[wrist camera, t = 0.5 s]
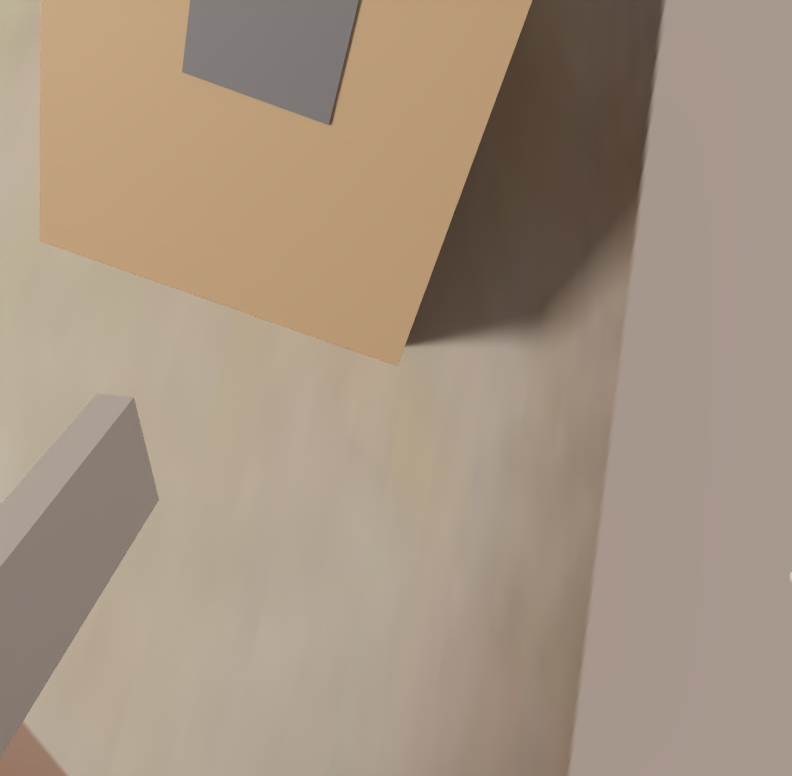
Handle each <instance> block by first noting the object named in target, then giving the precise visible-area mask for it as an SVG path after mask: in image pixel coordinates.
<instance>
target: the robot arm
mask: <svg viewBox="0 0 792 776" xmlns="http://www.w3.org/2000/svg"><path fill="white" fill-rule="evenodd" d="M158 500H159V498H158V494H157V490H156V486H155V482H154V478H153V474H152V470H151V466H150V461H149V457H148V453H147V449H146V445H145V441H144V437H143V433H142V429H141V425H140V421H139V417H138V413H137V409H136V405H135V401H134V398H133V397H124V396H114V395H104V394H97V395H96V396H95V397H94V398H93V399H92V400H91V402H90V403H89V404H88V405H87V406H86V407H85V409H84V410H83V411H82V412H81V413H80V414H79V415H78V417H77V418H76V419H75V420H74V421H73V422H72V424H71V425H70V426H69V427H68V428H67V429H66V430H65V432H64V433H63V434H62V435H61V436H60V437H59V439H58V440H57V441H56V442H55V443H54V444H53V446H52V447H51V448H50V449H49V450H48V451H47V452H46V454H45V455H44V456H43V457H42V458H41V459H40V461H39V462H38V463H37V464H36V465H35V466H34V467H33V469H32V470H31V471H30V472H29V473H28V474H27V476H26V477H25V478H24V479H23V480H22V481H21V482H20V484H19V485H18V486H17V487H16V488H15V489H14V491H13V492H12V493H11V494H10V495H9V496H8V497H7V499H6V500H5V501H4V502H3V503H2V504H1V506H0V758H1V756H2V754H3V753H4V751H5V750H6V748H7V746H8V745H9V743H10V741H11V739H12V738H13V736H14V735H15V733H16V732H17V730H18V728H19V727H20V725H21V723H22V722H23V720H24V719H25V717H26V715H27V714H28V712H29V710H30V709H31V707H32V705H33V704H34V702H35V701H36V699H37V697H38V696H39V694H40V692H41V691H42V689H43V688H44V686H45V684H46V683H47V681H48V679H49V678H50V676H51V675H52V673H53V671H54V670H55V668H56V666H57V665H58V663H59V662H60V660H61V658H62V657H63V655H64V653H65V652H66V650H67V648H68V647H69V645H70V644H71V642H72V640H73V639H74V637H75V635H76V634H77V632H78V631H79V629H80V627H81V626H82V624H83V622H84V621H85V619H86V617H87V616H88V614H89V613H90V611H91V609H92V608H93V606H94V604H95V603H96V601H97V600H98V598H99V596H100V595H101V593H102V591H103V590H104V588H105V587H106V585H107V583H108V582H109V580H110V578H111V577H112V575H113V574H114V572H115V570H116V569H117V567H118V565H119V564H120V562H121V560H122V559H123V557H124V556H125V554H126V552H127V551H128V549H129V547H130V546H131V544H132V543H133V541H134V539H135V538H136V536H137V534H138V533H139V531H140V530H141V528H142V526H143V525H144V523H145V521H146V520H147V518H148V516H149V515H150V513H151V512H152V510H153V508H154V507H155V505H156V503H157V502H158ZM789 577H790V579H791V582H792V571H791V573H790V576H789Z"/></svg>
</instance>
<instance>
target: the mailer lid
mask: <svg viewBox="0 0 792 776" xmlns="http://www.w3.org/2000/svg"><path fill="white" fill-rule="evenodd" d="M531 3H532V0H41V54H40V241H41V242H44V243H47V244H50V245H53V246H56V247H58V248H61V249H64V250H67V251H70V252H73V253H76V254H78V255H81V256H84V257H87V258H90V259H93V260H96V261H98V262H101V263H104V264H107V265H110V266H113V267H116V268H118V269H121V270H124V271H127V272H130V273H133V274H136V275H138V276H141V277H144V278H147V279H150V280H153V281H156V282H158V283H161V284H164V285H167V286H170V287H173V288H176V289H178V290H181V291H184V292H187V293H190V294H193V295H195V296H198V297H201V298H204V299H207V300H210V301H213V302H215V303H218V304H221V305H224V306H227V307H230V308H233V309H235V310H238V311H241V312H244V313H247V314H250V315H253V316H255V317H258V318H261V319H264V320H267V321H270V322H273V323H275V324H278V325H281V326H284V327H287V328H290V329H293V330H295V331H298V332H301V333H304V334H307V335H310V336H313V337H315V338H318V339H321V340H324V341H327V342H330V343H332V344H335V345H338V346H341V347H344V348H347V349H350V350H352V351H355V352H358V353H361V354H364V355H367V356H370V357H372V358H375V359H378V360H381V361H384V362H387V363H390V364H392V365H395V366H398V363H399V361H400V358H401V355H402V352H403V350H404V347H405V344H406V342H407V339H408V336H409V333H410V331H411V328H412V325H413V323H414V320H415V317H416V315H417V312H418V309H419V306H420V304H421V301H422V298H423V296H424V293H425V290H426V287H427V285H428V282H429V279H430V277H431V274H432V271H433V268H434V266H435V263H436V260H437V258H438V255H439V252H440V249H441V247H442V244H443V241H444V239H445V236H446V233H447V230H448V228H449V225H450V222H451V220H452V217H453V214H454V212H455V209H456V206H457V203H458V201H459V198H460V195H461V193H462V190H463V187H464V184H465V182H466V179H467V176H468V174H469V171H470V168H471V165H472V163H473V160H474V157H475V155H476V152H477V149H478V146H479V144H480V141H481V138H482V136H483V133H484V130H485V127H486V125H487V122H488V119H489V117H490V114H491V111H492V108H493V106H494V103H495V100H496V98H497V95H498V92H499V90H500V87H501V84H502V81H503V79H504V76H505V73H506V71H507V68H508V65H509V62H510V60H511V57H512V54H513V52H514V49H515V46H516V43H517V41H518V38H519V35H520V33H521V30H522V27H523V24H524V22H525V19H526V16H527V14H528V11H529V8H530V5H531Z"/></svg>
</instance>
